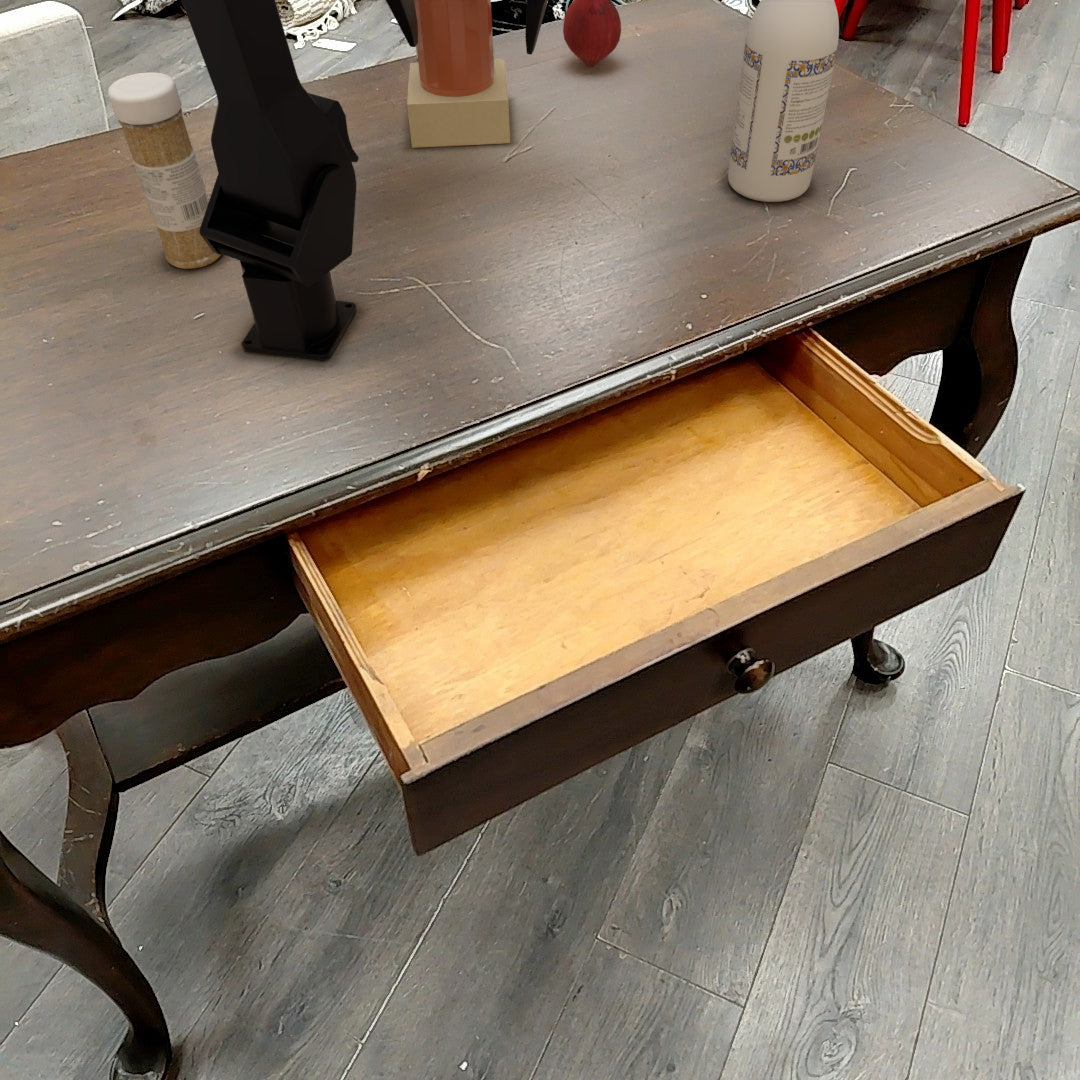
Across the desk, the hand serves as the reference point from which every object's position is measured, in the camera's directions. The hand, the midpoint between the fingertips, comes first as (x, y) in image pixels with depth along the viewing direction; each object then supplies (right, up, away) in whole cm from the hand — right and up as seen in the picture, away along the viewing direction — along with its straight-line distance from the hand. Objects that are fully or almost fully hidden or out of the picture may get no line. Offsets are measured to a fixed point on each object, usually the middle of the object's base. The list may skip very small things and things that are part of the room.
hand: (472, 48), depth 74 cm
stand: (-2, +2, +17) cm, 17 cm away
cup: (-2, +4, +14) cm, 15 cm away
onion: (+11, +11, +26) cm, 30 cm away
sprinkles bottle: (-22, -15, +3) cm, 27 cm away
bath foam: (+25, -8, +8) cm, 27 cm away
